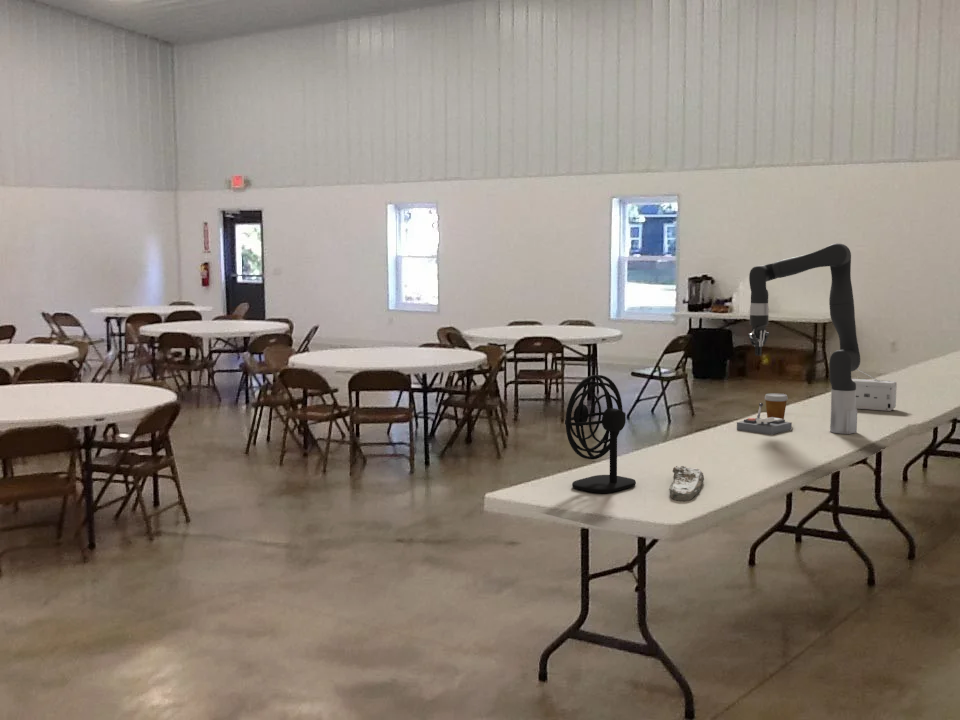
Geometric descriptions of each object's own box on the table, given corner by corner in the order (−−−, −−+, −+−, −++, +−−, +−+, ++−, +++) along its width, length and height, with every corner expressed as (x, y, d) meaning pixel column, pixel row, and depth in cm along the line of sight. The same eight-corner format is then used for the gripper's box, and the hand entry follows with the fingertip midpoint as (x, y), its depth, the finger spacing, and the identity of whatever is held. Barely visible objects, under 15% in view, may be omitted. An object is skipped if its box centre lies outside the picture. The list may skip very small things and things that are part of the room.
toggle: (760, 419, 423) (764, 403, 423) (758, 418, 422) (762, 402, 422) (757, 418, 424) (760, 403, 425) (755, 418, 423) (758, 402, 424)
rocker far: (774, 420, 409) (773, 416, 409) (769, 421, 406) (769, 418, 406) (761, 422, 413) (761, 418, 413) (756, 423, 411) (756, 419, 411)
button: (756, 421, 416) (756, 418, 416) (752, 422, 414) (752, 419, 413) (750, 420, 418) (750, 417, 418) (746, 421, 416) (746, 418, 416)
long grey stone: (662, 505, 303) (696, 509, 301) (664, 488, 302) (698, 492, 300) (675, 473, 336) (706, 476, 334) (676, 458, 335) (707, 461, 333)
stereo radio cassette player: (896, 409, 462) (897, 365, 460) (892, 412, 455) (894, 367, 453) (848, 406, 473) (849, 363, 471) (844, 408, 466) (845, 365, 464)
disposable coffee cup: (789, 424, 426) (790, 396, 424) (767, 425, 426) (767, 396, 424) (783, 421, 435) (784, 393, 434) (761, 421, 435) (761, 393, 434)
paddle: (782, 421, 415) (782, 418, 415) (777, 422, 412) (777, 419, 412) (773, 420, 418) (773, 417, 418) (768, 421, 415) (768, 418, 415)
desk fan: (607, 474, 337) (607, 369, 333) (650, 483, 324) (651, 374, 320) (552, 488, 318) (552, 377, 314) (596, 498, 306) (596, 382, 302)
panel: (791, 429, 414) (791, 419, 414) (771, 434, 404) (771, 423, 404) (756, 424, 426) (757, 414, 426) (736, 429, 416) (736, 418, 415)
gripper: (758, 315, 415) (757, 357, 417) (775, 313, 424) (774, 354, 426) (742, 314, 421) (741, 356, 423) (759, 312, 430) (758, 353, 432)
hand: (758, 355), depth 425 cm, fingers closed
